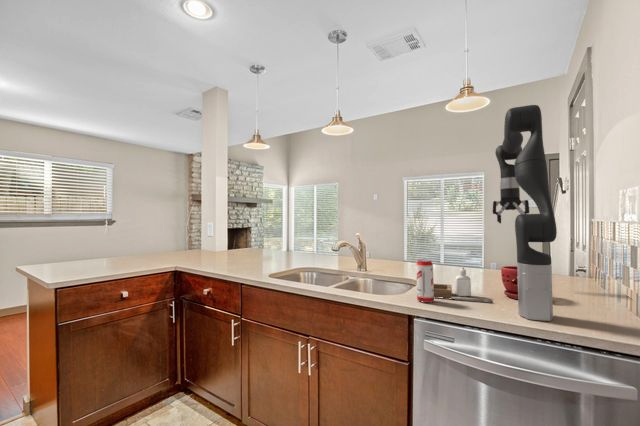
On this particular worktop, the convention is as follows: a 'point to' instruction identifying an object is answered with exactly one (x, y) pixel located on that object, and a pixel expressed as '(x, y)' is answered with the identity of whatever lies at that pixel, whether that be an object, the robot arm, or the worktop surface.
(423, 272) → the beer can
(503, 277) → the plant pot
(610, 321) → the worktop surface
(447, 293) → the hammer
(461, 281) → the eye dropper bottle
